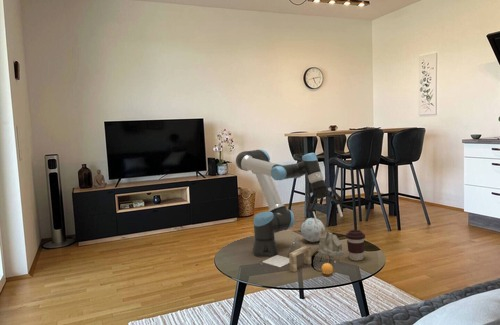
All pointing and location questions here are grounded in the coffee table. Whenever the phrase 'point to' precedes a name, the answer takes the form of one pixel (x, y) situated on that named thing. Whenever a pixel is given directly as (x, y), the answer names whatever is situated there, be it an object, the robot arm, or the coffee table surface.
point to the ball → (327, 268)
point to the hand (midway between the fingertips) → (329, 220)
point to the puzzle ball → (311, 229)
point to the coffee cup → (355, 244)
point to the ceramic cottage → (329, 244)
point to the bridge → (293, 254)
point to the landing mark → (277, 261)
